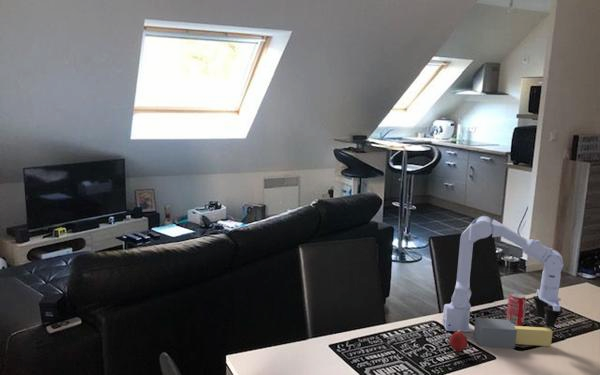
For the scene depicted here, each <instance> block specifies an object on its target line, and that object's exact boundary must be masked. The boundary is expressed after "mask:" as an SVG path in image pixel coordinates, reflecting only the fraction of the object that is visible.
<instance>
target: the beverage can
mask: <svg viewBox="0 0 600 375" xmlns="http://www.w3.org/2000/svg"><path fill="white" fill-rule="evenodd" d="M526 306H527V298H526V296H525V294H523V293H521V292H520V293H519V292H511V293H510V295H509V296H508V302H507V309H506V310H507V311H506V319H505V320H509V321H510V322H511V323H512V324H513V325H514V326H523V325H524V322H525V314H526V313H525V312H526Z"/></svg>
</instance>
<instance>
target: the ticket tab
mask: <svg viewBox="0 0 600 375" xmlns="http://www.w3.org/2000/svg"><path fill="white" fill-rule="evenodd" d="M515 328H516V329H517V334H516V342H515V345H523V346H524V345H525V346H540V347H542V346H543V347H552V346H551V345H552V340H553V333H554V332H553V331H554V330H553V329H551V327H541V326H539V327H538V326H527V325H526V326H523V325H521V326H515Z"/></svg>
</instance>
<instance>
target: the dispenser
mask: <svg viewBox="0 0 600 375" xmlns="http://www.w3.org/2000/svg"><path fill="white" fill-rule="evenodd" d="M516 334H517V329H516V328H515V326H514V325H513V324H512V323H511V322H510V321H509V320H506V319H505V318H503V319H501V318H488V317H487V318H485V317H475V318H474V328H473V337H474V339H475V340H476V342H477V344H478V346H479V347H484V348H485V347H486V348H501V349H502V348H503V349H516V344H515V342H516Z"/></svg>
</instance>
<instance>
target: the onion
mask: <svg viewBox="0 0 600 375" xmlns="http://www.w3.org/2000/svg"><path fill="white" fill-rule="evenodd" d="M449 346H450V347H451V348H452V349H453V350H454V351H455V352H457V353H460V352H462V351H464V350H465V349H466V348H467V347H468V339H467V337H466V335H465V334H464V333H463V332H462V331H461V330H459V331H454V332H453V333H452V334H451V335H450V338H449Z"/></svg>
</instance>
